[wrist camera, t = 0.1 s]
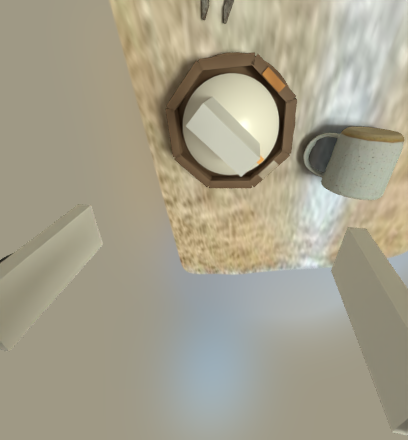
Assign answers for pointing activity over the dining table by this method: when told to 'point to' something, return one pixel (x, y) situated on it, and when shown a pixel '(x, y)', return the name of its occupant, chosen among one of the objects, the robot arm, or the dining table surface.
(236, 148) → the dial
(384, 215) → the dining table surface
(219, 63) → the dial housing
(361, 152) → the ceramic mug
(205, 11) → the pliers
